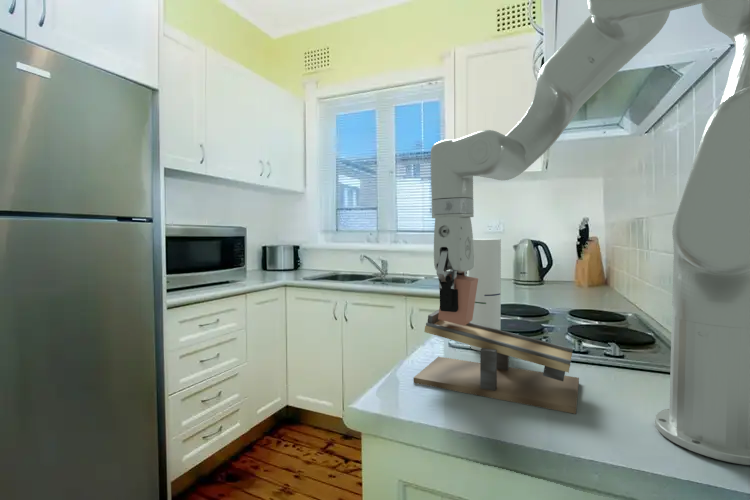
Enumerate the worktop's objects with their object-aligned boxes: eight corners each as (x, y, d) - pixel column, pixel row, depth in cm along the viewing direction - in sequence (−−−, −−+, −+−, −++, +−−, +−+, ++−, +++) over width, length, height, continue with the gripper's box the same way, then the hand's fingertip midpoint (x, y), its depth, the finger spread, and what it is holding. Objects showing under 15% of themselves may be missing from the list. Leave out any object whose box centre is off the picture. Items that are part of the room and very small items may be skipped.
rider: (472, 320, 74) (478, 278, 73) (464, 325, 70) (470, 281, 69) (446, 313, 77) (452, 273, 76) (438, 319, 72) (443, 276, 71)
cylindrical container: (504, 351, 89) (504, 239, 87) (472, 351, 89) (472, 239, 87) (495, 342, 96) (495, 238, 94) (465, 342, 96) (465, 238, 95)
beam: (569, 368, 68) (574, 340, 68) (566, 384, 61) (572, 354, 61) (437, 332, 80) (441, 308, 79) (422, 342, 73) (426, 316, 72)
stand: (578, 383, 70) (579, 341, 70) (575, 413, 59) (576, 363, 58) (438, 361, 83) (438, 325, 82) (413, 382, 71) (413, 341, 71)
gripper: (458, 206, 63) (460, 319, 64) (484, 210, 78) (485, 302, 79) (415, 209, 67) (417, 315, 68) (447, 212, 82) (449, 299, 83)
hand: (454, 307), depth 73 cm, fingers closed on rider, 5 cm apart
